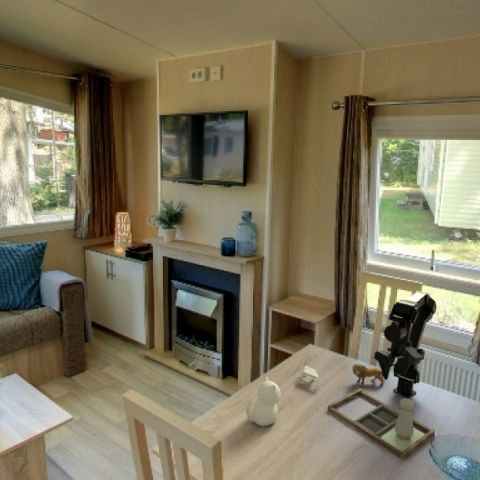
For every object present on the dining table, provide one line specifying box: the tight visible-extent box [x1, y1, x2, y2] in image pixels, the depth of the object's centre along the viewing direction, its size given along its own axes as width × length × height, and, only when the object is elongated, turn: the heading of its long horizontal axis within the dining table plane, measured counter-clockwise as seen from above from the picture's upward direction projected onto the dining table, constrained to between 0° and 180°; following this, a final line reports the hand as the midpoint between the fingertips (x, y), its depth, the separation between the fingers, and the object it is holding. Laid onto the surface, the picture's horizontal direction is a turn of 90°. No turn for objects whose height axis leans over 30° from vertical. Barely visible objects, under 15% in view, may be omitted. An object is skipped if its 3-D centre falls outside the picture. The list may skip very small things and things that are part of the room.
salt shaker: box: [394, 397, 415, 440], centre depth 131 cm, size 6×6×13 cm
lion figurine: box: [351, 363, 386, 386], centre depth 163 cm, size 15×5×9 cm, turn 99°
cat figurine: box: [245, 375, 282, 427], centre depth 137 cm, size 9×12×15 cm
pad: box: [379, 426, 426, 452], centre depth 132 cm, size 14×8×1 cm, turn 127°
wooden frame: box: [327, 388, 436, 461], centre depth 139 cm, size 19×30×2 cm, turn 37°
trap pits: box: [353, 404, 399, 438], centre depth 139 cm, size 17×9×2 cm, turn 127°
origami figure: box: [297, 365, 320, 390], centre depth 162 cm, size 12×8×5 cm
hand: (394, 377), depth 144 cm, fingers open, 9 cm apart
